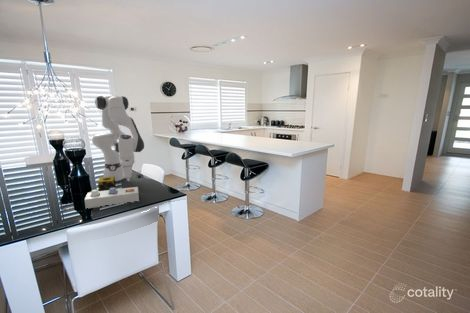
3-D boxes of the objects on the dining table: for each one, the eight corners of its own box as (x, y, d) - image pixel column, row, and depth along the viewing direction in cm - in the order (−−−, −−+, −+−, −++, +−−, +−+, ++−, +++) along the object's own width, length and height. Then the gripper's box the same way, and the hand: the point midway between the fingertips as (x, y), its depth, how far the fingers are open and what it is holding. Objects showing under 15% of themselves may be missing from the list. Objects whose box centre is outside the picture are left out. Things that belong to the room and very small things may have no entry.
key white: (92, 197, 148) (91, 189, 147) (99, 196, 150) (98, 189, 149) (91, 199, 145) (90, 192, 144) (99, 198, 146) (98, 191, 145)
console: (88, 201, 152) (87, 192, 150) (138, 194, 164) (137, 186, 162) (85, 208, 141) (84, 199, 140) (139, 201, 153) (138, 192, 152)
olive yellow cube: (100, 190, 171) (99, 177, 169) (116, 188, 174) (115, 176, 172) (98, 195, 162) (96, 181, 159) (114, 193, 165) (113, 180, 163)
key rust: (127, 196, 157) (126, 189, 156) (133, 195, 159) (133, 188, 157) (127, 198, 153) (126, 191, 152) (133, 197, 155) (133, 190, 154)
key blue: (110, 195, 152) (109, 187, 151) (116, 194, 154) (116, 187, 153) (109, 197, 149) (108, 190, 148) (116, 196, 150) (116, 189, 149)
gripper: (122, 156, 158) (123, 176, 162) (121, 164, 140) (123, 186, 143) (132, 156, 161) (133, 175, 164) (132, 163, 143) (134, 185, 146)
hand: (128, 180), depth 154 cm, fingers closed
